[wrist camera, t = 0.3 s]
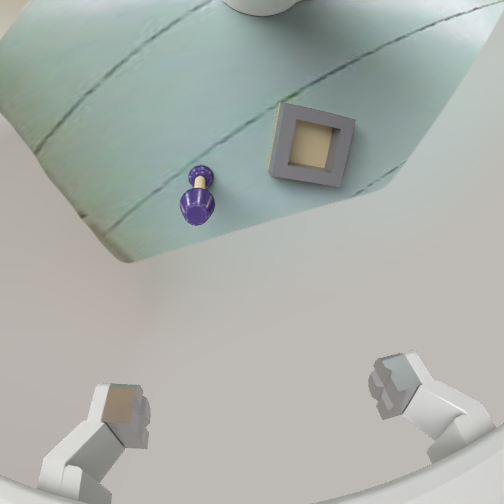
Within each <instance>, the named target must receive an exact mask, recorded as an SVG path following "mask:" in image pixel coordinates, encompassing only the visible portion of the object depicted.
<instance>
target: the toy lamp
mask: <svg viewBox="0 0 504 504" xmlns="http://www.w3.org/2000/svg"><path fill="white" fill-rule="evenodd" d="M212 181H213V173H212V171H211V170H210V169H209V168H208V167H206V166H203V165H201V166H196V167H194V168H193V169H192V170H191V171H190V173H189V182H190V184H191V185H192V186H193V187H194V188H192V189H190V190H188V191H186V192H185V193H184V194H183V196H182V197H181V200H180V209H181V212H182V214H183V216H184V218H185V220H186V221H187V222H188V223H190V224H191V225H195V226H196V225H201V224H203V223H205V222H206V221H207V220H208V218H209V217H210V216H211V214H212V213H213V211H214V208H215V201H214V198H213V196H212V194H211V193H210V192H209V191H207V190H206V188H208V187H209V186H210V185H211V183H212Z"/></svg>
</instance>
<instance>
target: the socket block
mask: <svg viewBox="0 0 504 504" xmlns="http://www.w3.org/2000/svg"><path fill="white" fill-rule="evenodd" d="M354 125H355V120H354V119H351V118H347V117H344V116H340V115H336V114H332V113H328V112H324V111H320V110H316V109H311V108H307V107H302V106H297V105H293V104H288V103H279V108H278V113H277V119H276V124H275V130H274V135H273V141H272V146H271V152H270V157H269V163H268V168H267V171H268V172H269V173H270V175H271V176H272V177H279V178H286V179H293V180H299V181H305V182H311V183H317V184H323V185H329V186H334V187H340V185H341V181H342V177H343V173H344V169H345V165H346V161H347V157H348V152H349V148H350V143H351V139H352V134H353V130H354Z"/></svg>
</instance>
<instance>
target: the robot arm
mask: <svg viewBox="0 0 504 504" xmlns="http://www.w3.org/2000/svg"><path fill="white" fill-rule="evenodd" d="M223 1H224V2H225V3H226V4H227V5H229V6H230V7H232V8H233V9H235V10H237V11H239V12H242V13H245V14H249V15H255V16H269V15H275V14H278V13H281V12H283V11H285V10H287V9H289V8H290V7H291V6H293V5H294V4H295V3H297V2H298V1H301V0H223ZM374 368H375V370H374V371H373V372H372V373H371V374H370V377H369V390H370V392H371V395H372V397H373V398H375V399H376V400H378V403H377V408H378V411H379V413H380V415H381V417H382V419H383V420H384V419H388V418H391V417H395V416H398V415H401V414H403V415H402V416H404V417H405V418H406V419H408V420H409V421H410V422H411V423H413V424H414V425H415V426H417V427H418V428H419V429H420V430H422V431H423V432H425V433H426V434H427V435H429V436H430V437H431V438H432V439H434V440H435V442H434V443H433V445H432V446H431V447H430V448H429V449H428V451H427V453H428V456H429V458H430V460H431V462H432V464H431V465H429V466H426V467H424V468H422V469H420V470H417V471H415V472H413V473H410V474H408V475H405V476H403V477H401V478H398V479H395V480H392V481H390V482H387V483H384V484H381V485H378V486H376V487H372V488H369V489H366V490H363V491H360V492H356V493H353V494H349V495H346V496H342V497H338V498H335V499H331V500H326V501H322V502H318V503H312V504H504V423H503V424H502V425H500V426H499V427H497V428H496V427H495V425H494V423H493V421H492V420H491V418H490V417H489V415H488V413H487V412H486V410H485V408H484V407H483V405H482V404H481V403H479V402H477V401H475V400H474V399H472V398H470V397H468V396H466V395H464V394H462V393H461V392H459V391H457V390H455V389H453V388H451V387H449V386H448V385H446V384H444V383H442V382H440V381H438V380H433V378H432V377H431V375H430V374H429V372H428V370H427V369H426V367H425V366H424V364H423V363H422V361H421V360H420V358H419V357H418V355H417V354H416V352H415V351H413V350H411V351H407V352H404V353H399V354H395V355H391V356H387V357H383V358H379V359H377V360H376V361H375V363H374ZM142 394H143V390H142V388H141V386H140V385H127V384H111V383H98V385H97V386H96V389H95V393H94V396H93V400H92V403H91V407H90V411H89V415H88V419H87V421H86V420H83V421H82V422H81V423H80V424H79V425H78V426H77V427H76V428H75V429H74V430H73V431H72V432H71V433H70V434H69V435H68V436H66V438H64V440H62V441H61V442H60V443H59V444H58V445H57V446H56V447H55V448H54V449H53V450H52V451H51V452H50V453H49V454H48V455H47V456H46V457H45V458H44V460H43V464H42V469H41V473H40V477H39V482H38V487H37V489H36V488H32V487H30V486H27V485H24V484H22V483H19V482H16V481H14V480H11V479H9V478H6V477H4V476H2V475H0V504H111V496H112V494H111V492H110V491H109V490H108V489H106V488H105V487H104V486H102V485H101V484H100V481H101V480H102V479H103V478H104V476H105V475H106V474H107V472H108V471H109V470H110V468H111V467H112V465H113V464H114V463H115V462H116V460H117V459H118V458H119V456H120V455H121V454H122V452H123V451H124V450H125V448H142V449H144V448H145V449H147V445H148V436H149V433H148V431H147V429H146V428H145V427H146V426H147V425H148V424H149V423H150V406H149V402H148V400H147V398H146V397H144V396H142Z"/></svg>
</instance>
